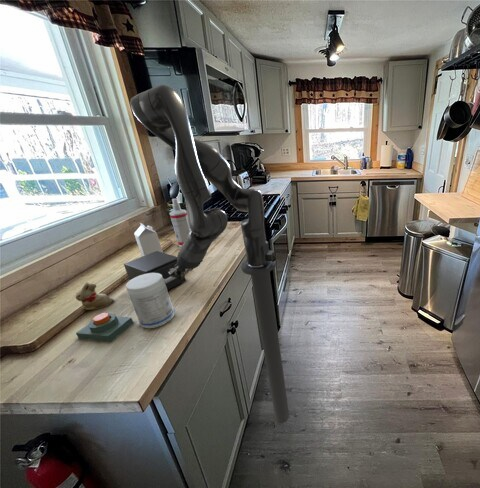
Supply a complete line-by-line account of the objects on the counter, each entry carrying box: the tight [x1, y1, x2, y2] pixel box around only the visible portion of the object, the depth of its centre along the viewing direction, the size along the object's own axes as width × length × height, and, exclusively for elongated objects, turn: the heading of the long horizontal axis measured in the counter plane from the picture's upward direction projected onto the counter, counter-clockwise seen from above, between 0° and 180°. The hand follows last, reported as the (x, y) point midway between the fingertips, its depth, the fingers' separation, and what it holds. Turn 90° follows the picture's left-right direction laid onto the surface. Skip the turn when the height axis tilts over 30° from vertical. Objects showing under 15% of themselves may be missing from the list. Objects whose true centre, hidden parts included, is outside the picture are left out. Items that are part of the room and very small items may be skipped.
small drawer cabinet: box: [123, 251, 187, 291], centre depth 101 cm, size 15×13×11 cm
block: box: [75, 312, 134, 343], centre depth 78 cm, size 11×8×4 cm
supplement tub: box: [125, 273, 175, 329], centre depth 80 cm, size 10×10×15 cm
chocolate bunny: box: [75, 281, 114, 311], centre depth 89 cm, size 6×8×10 cm
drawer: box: [149, 261, 187, 291], centre depth 99 cm, size 18×11×9 cm, turn 62°
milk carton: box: [133, 222, 164, 257], centre depth 117 cm, size 7×7×19 cm
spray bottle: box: [169, 198, 191, 248], centre depth 135 cm, size 8×8×25 cm
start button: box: [92, 312, 110, 325], centre depth 77 cm, size 4×4×2 cm
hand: (179, 277), depth 95 cm, fingers closed
